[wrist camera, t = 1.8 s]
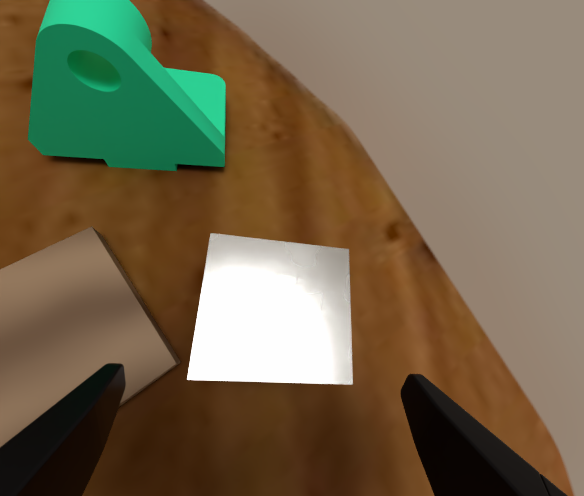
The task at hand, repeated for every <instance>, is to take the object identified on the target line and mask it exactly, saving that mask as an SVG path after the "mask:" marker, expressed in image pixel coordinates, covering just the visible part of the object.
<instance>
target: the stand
mask: <svg viewBox="0 0 584 496" xmlns="http://www.w3.org/2000/svg"><path fill="white" fill-rule="evenodd" d="M108 363H121V364H123V366H124V372H125V381H126V386H125V391H124V394H123V397H122V399H121V402H120V405H119V407H120V406H121V405H122V404H124V403H125V402H127V401H128V400H129V399H131V398H132V397H133V396H135V395H136V394H138V393H139V392H140V391H142V390H143V389H145V388H146V387H147V386H149V385H150V384H152V383H153V382H154V381H156V380H157V379H159V378H160V377H161V376H163V375H164V374H165V373H167V372H168V371H170V370H171V369H172V368H174V367H175V366H177V365H178V364H179V363H181V362H180V360H179V358H178V357H177V355H176V354H175V352H174V350H173V349H172V347H171V346H170V344H169V342H168V341H167V339H166V338H165V336H164V334H163V333H162V331H161V330H160V328H159V326H158V325H157V323H156V321H155V320H154V318H153V317H152V315H151V313H150V312H149V310H148V309H147V307H146V305H145V304H144V302H143V301H142V299H141V297H140V296H139V294H138V293H137V291H136V289H135V288H134V286H133V284H132V283H131V281H130V280H129V278H128V276H127V275H126V273H125V272H124V270H123V268H122V267H121V265H120V264H119V262H118V260H117V259H116V257H115V256H114V254H113V252H112V251H111V249H110V247H109V246H108V244H107V243H106V241H105V239H104V238H103V236H102V235H101V234H100V233H99V232H97V231H96V230H95V229H94V228H93V227H90V228H88V229H86V230H83V231H81V232H79V233H77V234H75V235H73V236H71V237H68V238H66V239H64V240H62V241H60V242H58V243H56V244H54V245H51V246H49V247H47V248H45V249H43V250H41V251H39V252H37V253H34V254H32V255H30V256H28V257H26V258H24V259H22V260H20V261H17V262H15V263H13V264H11V265H9V266H7V267H5V268H3V269H0V447H1V446H2V445H4V444H5V443H6V442H7V441H9V440H10V439H11V438H12V437H14V436H15V435H16V434H18V433H19V432H20V431H21V430H23V429H24V428H25V427H26V426H28V425H29V424H30V423H31V422H33V421H34V420H35V419H37V418H38V417H39V416H40V415H42V414H43V413H44V412H45V411H47V410H48V409H49V408H51V407H52V406H53V405H54V404H56V403H57V402H58V401H59V400H61V399H62V398H63V397H64V396H66V395H67V394H68V393H70V392H71V391H72V390H73V389H75V388H76V387H77V386H78V385H80V384H81V383H82V382H83V381H85V380H86V379H87V378H89V377H90V376H91V375H92V374H94V373H95V372H96V371H97V370H99V369H100V368H101V367H103V366H104V365H105V364H108Z"/></svg>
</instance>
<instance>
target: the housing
mask: <svg viewBox="0 0 584 496" xmlns="http://www.w3.org/2000/svg"><path fill="white" fill-rule="evenodd" d="M187 380H212V381H247V382H282V383H317V384H352V385H353V377H352V343H351V309H350V274H349V249H342V248H333V247H324V246H316V245H307V244H299V243H290V242H282V241H273V240H265V239H256V238H248V237H239V236H231V235H222V234H214V233H211V235H210V241H209V247H208V253H207V259H206V266H205V272H204V278H203V284H202V290H201V296H200V303H199V309H198V315H197V321H196V327H195V333H194V340H193V346H192V352H191V358H190V364H189V370H188V377H187Z"/></svg>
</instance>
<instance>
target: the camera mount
mask: <svg viewBox="0 0 584 496" xmlns="http://www.w3.org/2000/svg"><path fill="white" fill-rule="evenodd" d="M151 48H152V40H151V34H150V31H149V28H148V26H147V24H146V22H145V20H144V18H143V17H142V15H141V14H140V12H139V11H138V10H137V8H136V7H135V6H134V5H133V4H132V3H131V2H130V1H129V0H50V1H49V4H48V7H47V10H46V13H45V16H44V19H43V22H42V25H41V27H40V30H39V33H38V36H37V39H36V48H35V60H34V72H33V84H32V96H31V108H30V120H29V132H28V140H29V141H30V142H31V143H32V144H33V145H34V146H35V147H36V148H37V149H38V150H39V151H40V152H41V153H42V154H43V155H50V156H65V157H80V158H95V159H104V160H105V162H106V163H107V165H108V166H109V167H120V168H136V169H153V170H169V171H177V164H186V165H202V166H217V167H225V122H226V87H225V82H224V80H223V79H222V78H220V77H219V76H217V75H214V74H207V73H199V72H192V71H184V70H177V69H169V68H163V67H162V65H161V64H160V63H159V62H158V61H157V60H156V59H155V57H154V56H153V55H152V54H151Z"/></svg>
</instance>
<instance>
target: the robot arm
mask: <svg viewBox="0 0 584 496" xmlns="http://www.w3.org/2000/svg"><path fill="white" fill-rule="evenodd" d="M125 386H126V381H125V372H124V366H123V364H121V363H108V364H105V365H104V366H103V367H101V368H100V369H99V370H97V371H96V372H95V373H94V374H92V375H91V376H90V377H89V378H87V379H86V380H85V381H83V382H82V383H81V384H80V385H78V386H77V387H76V388H75V389H73V390H72V391H71V392H70V393H68V394H67V395H66V396H64V397H63V398H62V399H61V400H59V401H58V402H57V403H56V404H54V405H53V406H52V407H51V408H49V409H48V410H47V411H45V412H44V413H43V414H42V415H40V416H39V417H38V418H37V419H35V420H34V421H33V422H31V423H30V424H29V425H28V426H26V427H25V428H24V429H23V430H21V431H20V432H19V433H18V434H16V435H15V436H14V437H12V438H11V439H10V440H9V441H7V442H6V443H5V444H4V445H2V446H1V447H0V496H82V495H83V493H84V490H85V488H86V486H87V484H88V482H89V480H90V478H91V476H92V473H93V471H94V469H95V467H96V465H97V463H98V461H99V458H100V456H101V454H102V452H103V449H104V447H105V444H106V441H107V438H108V436H109V433H110V430H111V427H112V425H113V422H114V419H115V416H116V413H117V411H118V408H119V405H120V402H121V399H122V397H123V394H124V391H125ZM401 399H402V402H403V406H404V409H405V413H406V416H407V419H408V423H409V426H410V430H411V433H412V436H413V440H414V443H415V446H416V449H417V451H418V454H419V457H420V459H421V462H422V464H423V467H424V470H425V472H426V475H427V477H428V480H429V482H430V485H431V488H432V490H433V493H434V495H435V496H567V495H566V494H565V493H564V492H562V491H561V490H560V489H559V488H557V487H556V486H555V485H554V484H553V483H551V482H550V481H549V480H548V479H547V478H545V477H544V476H543V475H542V474H539V472H538V471H537V470H536V469H535V468H533V467H532V466H531V465H530V464H529V463H527V462H526V461H525V460H524V459H523V458H521V457H520V456H519V455H518V454H517V453H515V452H514V451H513V450H512V449H511V448H509V447H508V446H507V445H506V444H505V443H503V442H502V441H501V440H500V439H499V438H497V437H496V436H495V435H494V434H493V433H491V432H490V431H489V430H488V429H487V428H485V427H484V426H483V425H482V424H481V423H479V422H478V421H477V420H476V419H475V418H473V417H472V416H471V415H470V414H469V413H467V412H466V411H465V410H464V409H463V408H461V407H460V406H459V405H458V404H457V403H455V402H454V401H453V400H452V399H451V398H449V397H448V396H447V395H446V394H445V393H443V392H442V391H441V390H440V389H439V388H437V387H436V386H435V385H434V384H433V383H431V382H430V381H429V380H428V379H427V378H425V377H424V376H423V375H421V374H409V375H408V376H407V378H406V380H405V383H404V385H403V387H402V389H401Z"/></svg>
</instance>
